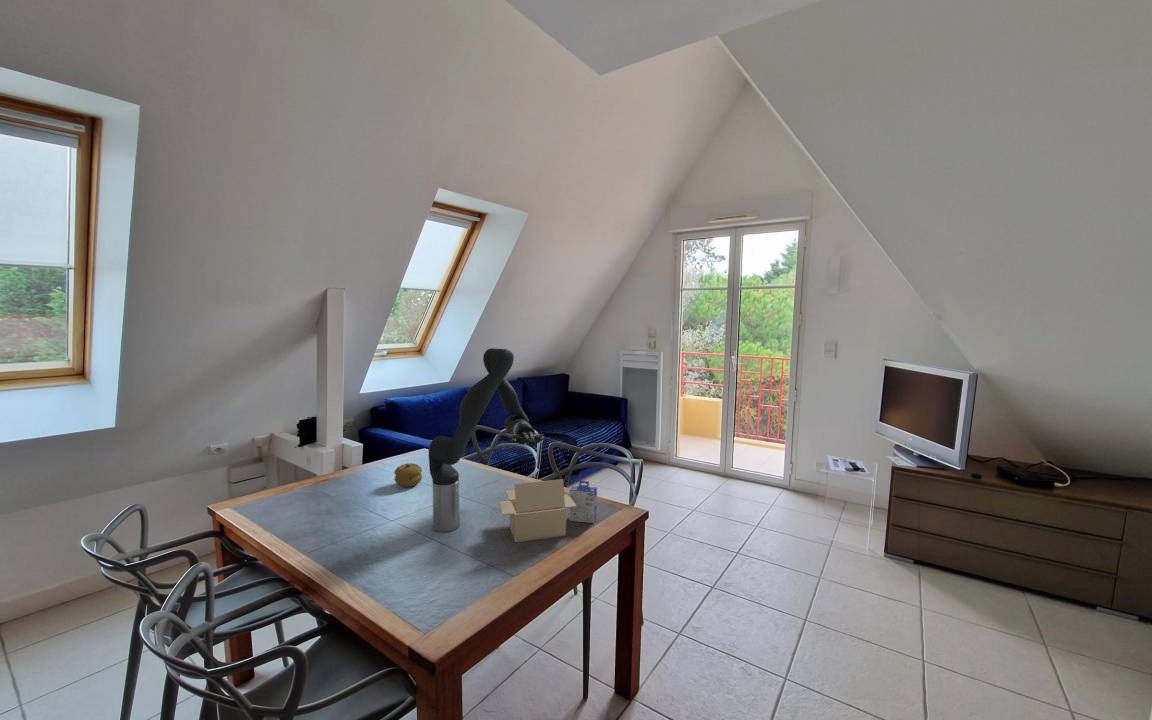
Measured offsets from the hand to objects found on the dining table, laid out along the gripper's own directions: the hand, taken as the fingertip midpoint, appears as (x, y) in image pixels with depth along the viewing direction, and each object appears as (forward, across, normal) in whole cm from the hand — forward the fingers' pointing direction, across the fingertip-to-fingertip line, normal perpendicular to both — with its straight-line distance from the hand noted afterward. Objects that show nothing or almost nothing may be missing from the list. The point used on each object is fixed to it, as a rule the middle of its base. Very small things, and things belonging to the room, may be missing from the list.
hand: (532, 444), depth 173 cm
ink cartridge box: (+3, +19, +30) cm, 36 cm away
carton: (+3, 0, +30) cm, 30 cm away
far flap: (+12, 0, +15) cm, 19 cm away
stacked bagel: (-51, -46, +30) cm, 75 cm away
